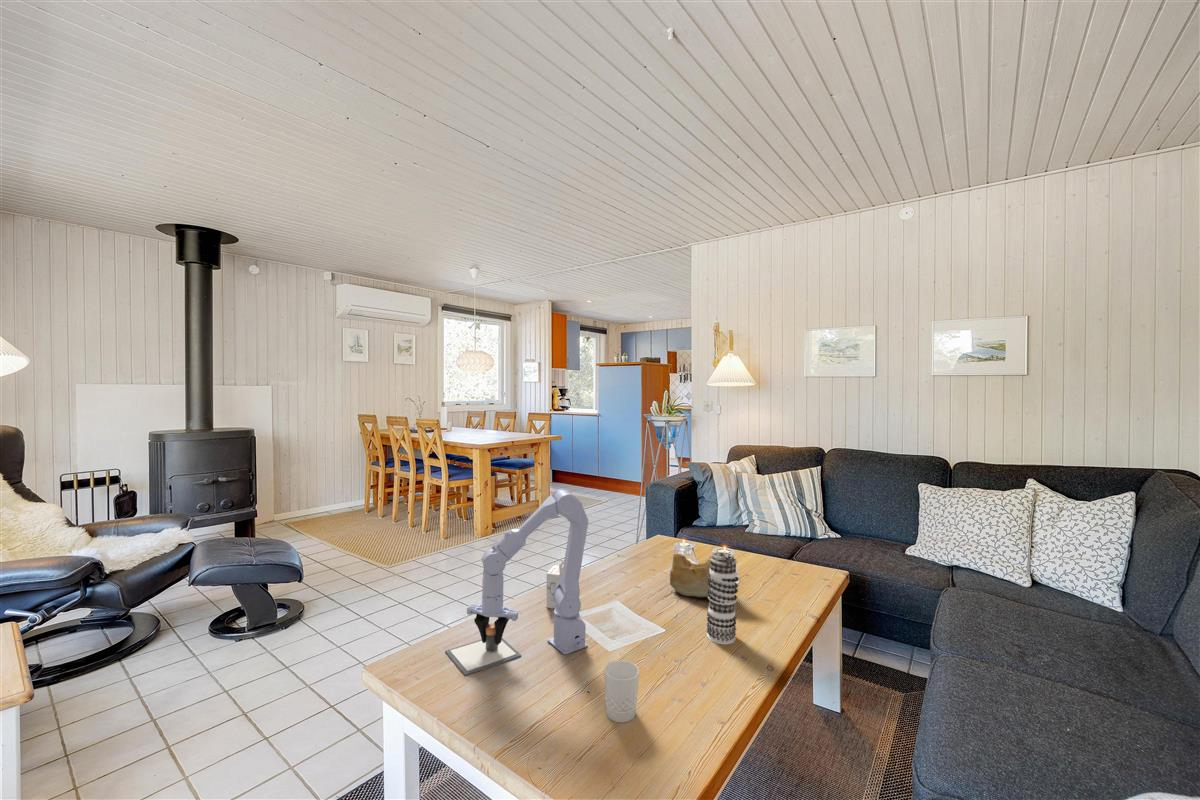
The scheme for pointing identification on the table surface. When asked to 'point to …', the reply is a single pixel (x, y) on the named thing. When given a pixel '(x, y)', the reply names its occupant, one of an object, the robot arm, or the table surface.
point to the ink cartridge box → (553, 583)
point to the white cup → (621, 690)
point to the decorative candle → (722, 598)
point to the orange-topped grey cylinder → (491, 638)
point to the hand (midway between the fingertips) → (491, 642)
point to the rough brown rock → (689, 577)
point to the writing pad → (480, 656)
